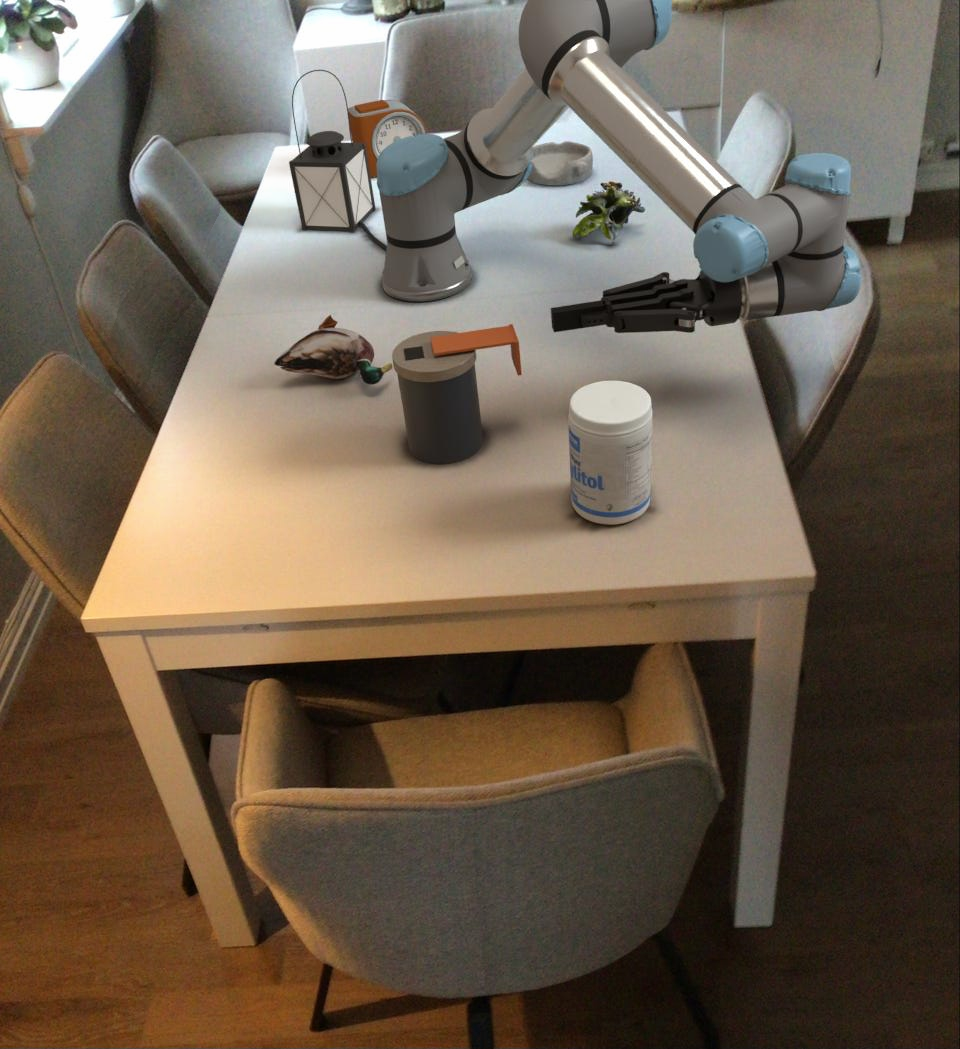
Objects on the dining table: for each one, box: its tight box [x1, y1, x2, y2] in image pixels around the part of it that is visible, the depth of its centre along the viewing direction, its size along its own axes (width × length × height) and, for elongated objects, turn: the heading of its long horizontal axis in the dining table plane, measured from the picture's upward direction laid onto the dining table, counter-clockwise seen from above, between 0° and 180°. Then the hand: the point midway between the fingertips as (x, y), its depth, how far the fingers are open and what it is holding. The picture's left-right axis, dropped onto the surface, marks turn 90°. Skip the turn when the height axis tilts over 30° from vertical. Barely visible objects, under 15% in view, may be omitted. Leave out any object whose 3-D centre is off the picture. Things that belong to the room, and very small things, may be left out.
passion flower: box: [571, 180, 646, 247], centre depth 191 cm, size 11×11×12 cm
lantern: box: [288, 69, 377, 233], centre depth 203 cm, size 11×11×28 cm
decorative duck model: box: [273, 314, 393, 385], centre depth 158 cm, size 15×8×15 cm
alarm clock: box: [347, 99, 428, 179], centre depth 228 cm, size 15×8×14 cm, turn 111°
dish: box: [527, 140, 594, 186], centre depth 218 cm, size 14×14×5 cm
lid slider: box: [430, 323, 523, 376], centre depth 138 cm, size 11×5×5 cm, turn 98°
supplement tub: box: [567, 380, 653, 526], centre depth 126 cm, size 10×10×15 cm
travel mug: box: [391, 330, 484, 465], centre depth 141 cm, size 11×11×14 cm
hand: (552, 320), depth 136 cm, fingers closed
